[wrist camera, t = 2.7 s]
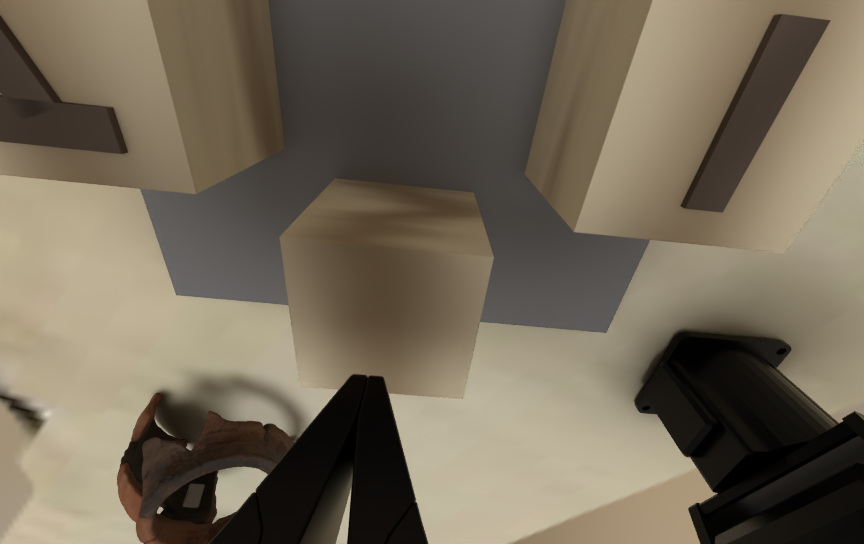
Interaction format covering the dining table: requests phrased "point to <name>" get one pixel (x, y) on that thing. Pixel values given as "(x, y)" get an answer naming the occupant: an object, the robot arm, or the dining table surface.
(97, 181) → the numbered block seven
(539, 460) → the dining table surface
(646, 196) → the numbered block one
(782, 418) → the robot arm
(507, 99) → the charcoal mat
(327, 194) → the plain block
